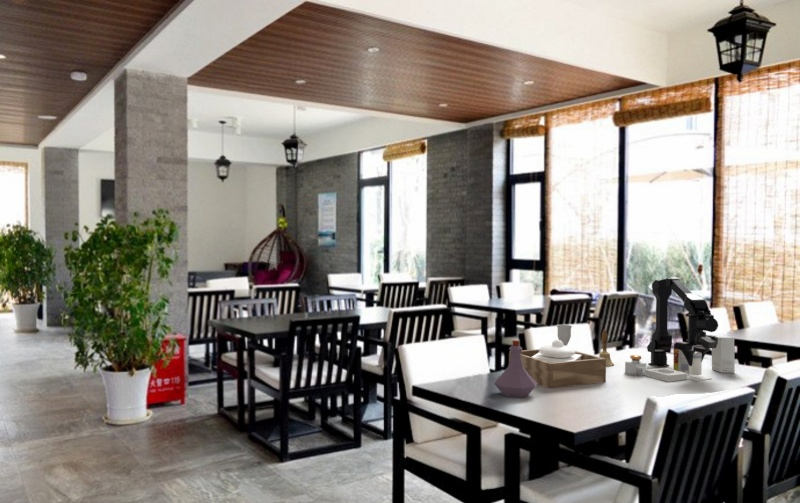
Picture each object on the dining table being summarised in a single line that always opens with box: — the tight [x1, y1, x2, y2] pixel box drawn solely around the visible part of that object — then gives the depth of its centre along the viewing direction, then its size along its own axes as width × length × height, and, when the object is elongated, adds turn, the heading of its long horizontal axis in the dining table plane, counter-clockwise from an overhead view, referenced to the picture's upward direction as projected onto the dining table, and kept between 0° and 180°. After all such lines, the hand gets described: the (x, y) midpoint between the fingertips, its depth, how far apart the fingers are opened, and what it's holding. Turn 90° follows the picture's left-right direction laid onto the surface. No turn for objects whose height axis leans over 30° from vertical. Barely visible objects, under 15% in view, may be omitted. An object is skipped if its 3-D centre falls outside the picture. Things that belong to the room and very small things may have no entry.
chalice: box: [556, 324, 573, 346], centre depth 284 cm, size 7×7×18 cm
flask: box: [493, 339, 538, 399], centre depth 227 cm, size 16×16×20 cm
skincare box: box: [710, 334, 736, 374], centre depth 272 cm, size 8×7×16 cm
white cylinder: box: [688, 352, 703, 376], centre depth 258 cm, size 5×5×9 cm
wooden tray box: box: [508, 348, 607, 389], centre depth 256 cm, size 28×28×10 cm
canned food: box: [672, 341, 689, 373], centre depth 273 cm, size 8×8×12 cm
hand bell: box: [598, 329, 615, 367], centre depth 285 cm, size 8×8×16 cm
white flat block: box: [644, 367, 688, 382], centre depth 258 cm, size 12×11×2 cm
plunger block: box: [624, 360, 647, 377], centre depth 265 cm, size 6×6×5 cm
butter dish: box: [532, 339, 582, 363], centre depth 256 cm, size 18×18×16 cm
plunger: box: [629, 354, 642, 364], centre depth 265 cm, size 4×4×7 cm
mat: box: [686, 374, 713, 382], centre depth 258 cm, size 9×9×1 cm
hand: (694, 365), depth 258 cm, fingers closed on white cylinder, 5 cm apart
